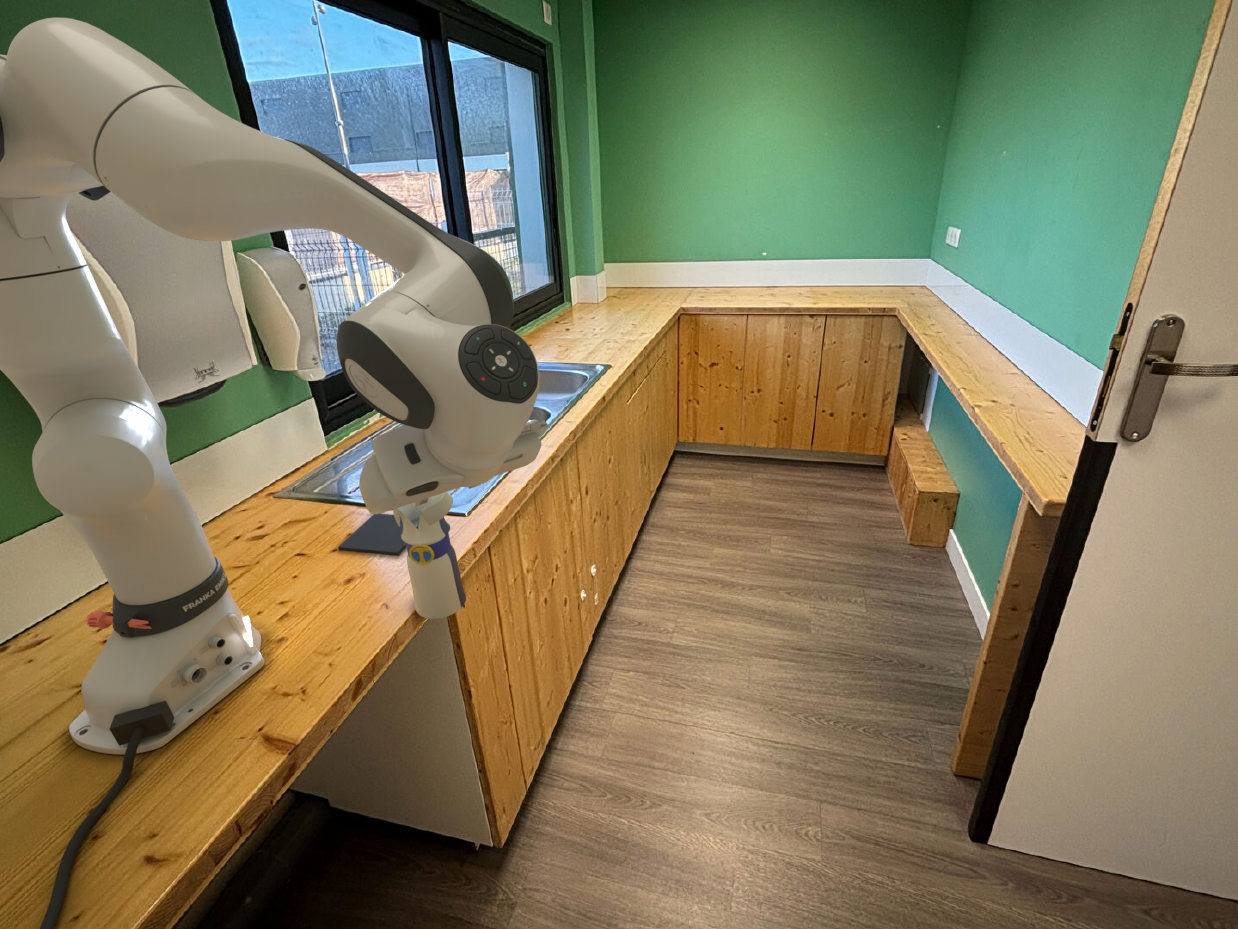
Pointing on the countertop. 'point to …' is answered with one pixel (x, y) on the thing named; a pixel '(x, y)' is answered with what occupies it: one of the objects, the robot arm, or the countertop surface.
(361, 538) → the mat
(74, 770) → the countertop surface
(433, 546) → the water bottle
